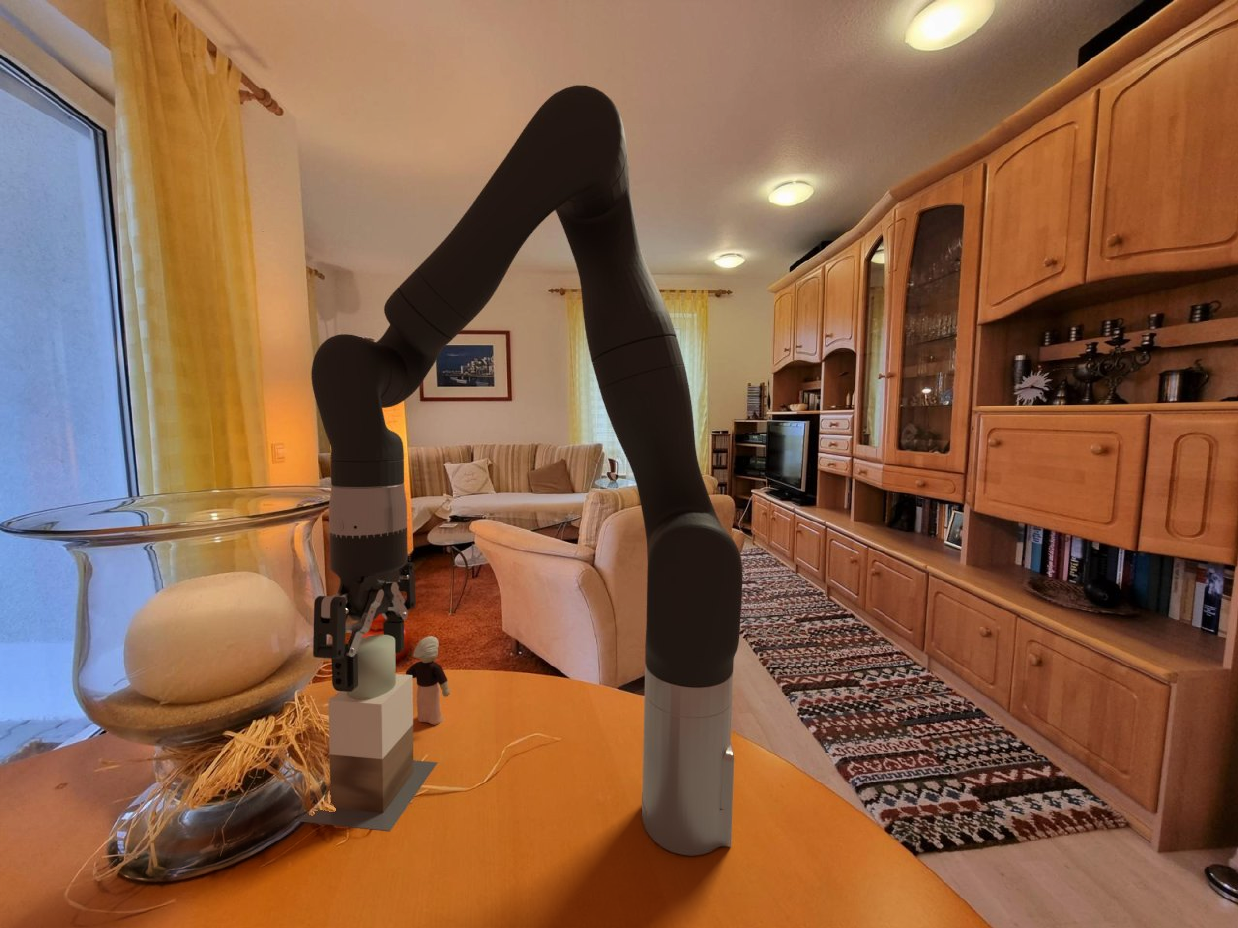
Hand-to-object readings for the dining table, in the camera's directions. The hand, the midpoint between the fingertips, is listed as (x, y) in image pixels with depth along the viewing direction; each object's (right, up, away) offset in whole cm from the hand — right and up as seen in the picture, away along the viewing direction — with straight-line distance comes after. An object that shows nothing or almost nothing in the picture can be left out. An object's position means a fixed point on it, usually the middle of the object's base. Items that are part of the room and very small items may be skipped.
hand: (372, 668), depth 52 cm
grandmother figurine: (+1, -14, +14) cm, 20 cm away
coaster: (0, -15, +1) cm, 15 cm away
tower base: (0, -14, +1) cm, 14 cm away
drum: (0, -2, 0) cm, 2 cm away
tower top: (0, -8, +1) cm, 8 cm away
